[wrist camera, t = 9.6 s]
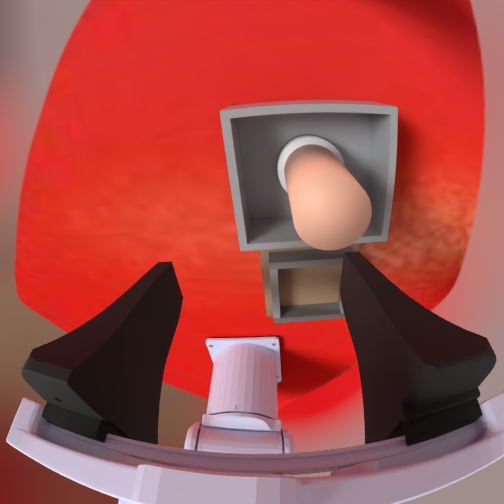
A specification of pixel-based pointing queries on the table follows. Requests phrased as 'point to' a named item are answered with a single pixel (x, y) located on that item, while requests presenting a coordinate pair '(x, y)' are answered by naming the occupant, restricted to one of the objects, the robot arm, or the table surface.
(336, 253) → the square framed plate
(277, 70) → the table surface
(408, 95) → the table surface
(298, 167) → the peach cylinder
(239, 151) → the bin
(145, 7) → the table surface
